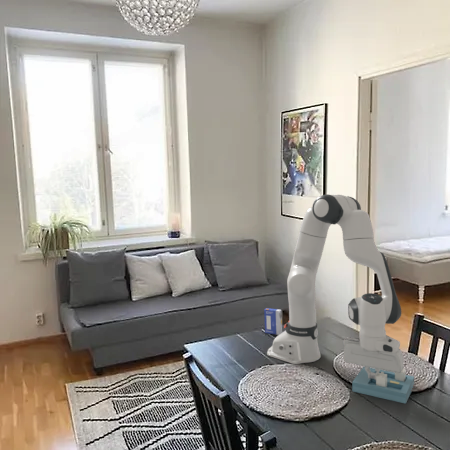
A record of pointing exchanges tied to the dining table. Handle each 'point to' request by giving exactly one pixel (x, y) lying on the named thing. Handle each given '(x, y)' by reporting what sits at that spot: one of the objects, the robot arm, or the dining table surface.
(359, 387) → the switch bank
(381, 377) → the tab near
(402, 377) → the tab far
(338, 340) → the dining table surface
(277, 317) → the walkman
